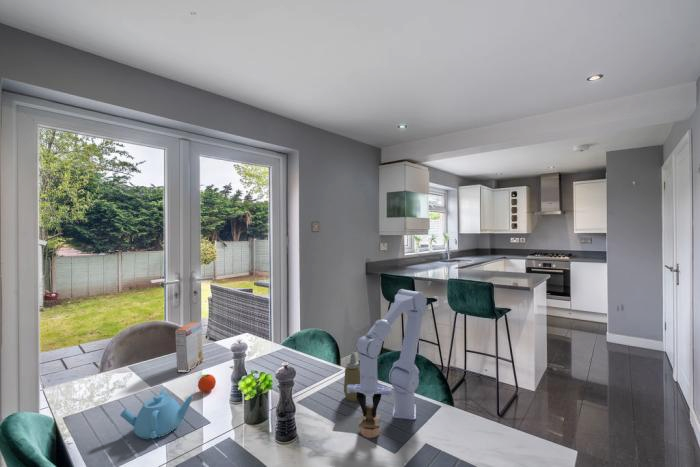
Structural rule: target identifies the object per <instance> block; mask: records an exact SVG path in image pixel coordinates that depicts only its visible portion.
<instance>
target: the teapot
mask: <svg viewBox="0 0 700 467" xmlns="http://www.w3.org/2000/svg"><path fill="white" fill-rule="evenodd" d="M193 397H194V396H193V395H192V396H187V398H186V399H185V400H184V402H183V404H182V405H180V404H179V402H177V400H176V399H175V398H174V397H173V396H171V395H167V391H166V390H161V391H160V393H159V394H157V395H155V396H153V397H152V398H150V399H148V400H146V402H145V403H144V404H142V407H141V408H140V410H139V412H138V414H136V415H137V416H136V415H134V414H133V413H132V412H131V411H129V409H127V408H124V410H123V411H122V412H121V413H120V414H119V416H120V417H121V418H123V419H124V420H125V421H126V422H127V423H128V424H130V425H131V426H132V427H133V432H134V434H135V435H136V436H137V437H139V438H141V437H142V438H141V439H143V438H152V439H151V440H154V438H155V439H157V438H156V437H159V436H162V435H165V434H167V433H169V434H171V433H172V432H173V430H174V429H175V428H176V429H177V428H178V427H179V425H180V424H181V422H182V421H183V419H184V418H185V416H186V413H187V412H188V409H189V407H190V405H191V403H192V400H193ZM176 429H175V430H176ZM175 430H174V431H175ZM171 431H172V432H171ZM170 432H171V433H170ZM167 435H168V434H167ZM165 436H166V435H165ZM162 437H163V436H162ZM159 438H160V437H159Z"/></svg>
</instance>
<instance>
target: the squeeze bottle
mask: <svg viewBox="0 0 700 467" xmlns="http://www.w3.org/2000/svg"><path fill="white" fill-rule="evenodd" d="M355 354H356V353H355V352H351V354H350V360H348V361H347V362H346V365H347V366H346V367H345V368H344V369H345V370H344V381H343V382H344V383H343V392H344V395H345V399H346V400H347V401H348V402H352V403H353V402H355V403H356V402H358V400H357V398H356V397H357V393H353V392H350V393H347V386H348V385H355V384H360V361H358V360H357V359H356V355H355Z"/></svg>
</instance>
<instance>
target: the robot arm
mask: <svg viewBox="0 0 700 467" xmlns="http://www.w3.org/2000/svg"><path fill="white" fill-rule="evenodd" d="M427 302H428V299H427V297H426V295H425V293H424V292H422V291H415V290H414V291H413V290H408V289H404V288H401V289H398V291H397V294H395V295H394V301H393V303H392V305H391V307H390V308H389V309H388V310H387V312H386V314H385V315H384V316H383V318H382V319H377V320H376V321H375V322H374V323H373V325H372V327H370V329H369V330H368V332H367V333H366V334H365V335H363V336H361V337H359V338H358V339H357V341H356V344H355V347H354V349H355V351H356V353H357V356H358V359H359V367H360V384H355V385H348V386H347V393H350V392H353V393H357V397H356V398H357V400H358V401H357V402H358V404H359V406H360V408H361V412H362V413H363V416H364V417H366V406H367V397H368V396H372V406H373V418H375V417H376V414H377V409H378V406H379V404H380V402H381V398H382V396H387V397H390V398H391V397H392V394H393V403H394V404H393V409H392V410H393V411H392V418H397V419H404V420H405V419H407V420H412V421H413V420H414V421H415V420H416V418H417V417H416V416H417V405H416V404H415V391H416V390H417V389H418V387H419V384H420V379H419V375H420V370H419V368H418V367H417V365H416V364H415V360H416V356H417V355H416V354H417V349H418V345H419V341H420V340H419V339H420V335H421V331H422V330H421V329H422V325H423V320H424V315H425V312H426V307H427ZM404 312H405V313H406V315H407V321H406V326H405V330H404V336H403V340H402V341H403V342H402V344H401V345H402V346H401V350H400V355H399V359H397V360H396V361H394V362H392V367H391V369H390V370H389V374H388V380H389V382H390V384H391V385H392V386H391V387H387V386H383V385H379V384H378V383H379V382H378V381H379V380H378V378H379V377H378V356H379V355H380V353H381V350H382V346H383V342H384V341H385V340H386V338H387V337H388V336H389V334H391V332H392V325H393V324H394V323H395V322H396V321H397V319H398V318H399V317H400V316H401V315H402V314H403V313H404ZM392 388H393V390H392Z"/></svg>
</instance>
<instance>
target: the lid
mask: <svg viewBox="0 0 700 467" xmlns="http://www.w3.org/2000/svg"><path fill="white" fill-rule="evenodd" d="M380 420H381V414H380V413H379V414H378V413H376V417H375V418H373V404H366V417H364V416H363V412H362V413H361V414H360V422H359V427H368V428H379V424H381V421H380Z"/></svg>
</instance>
